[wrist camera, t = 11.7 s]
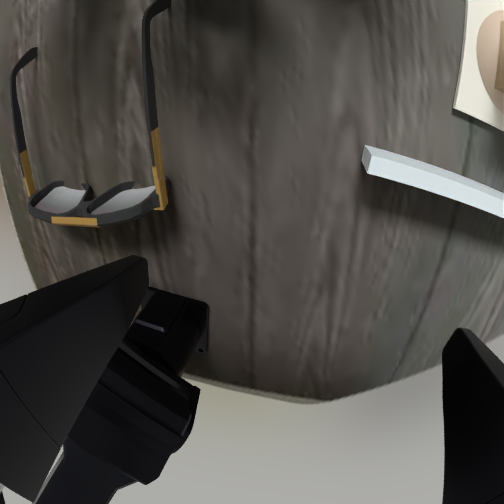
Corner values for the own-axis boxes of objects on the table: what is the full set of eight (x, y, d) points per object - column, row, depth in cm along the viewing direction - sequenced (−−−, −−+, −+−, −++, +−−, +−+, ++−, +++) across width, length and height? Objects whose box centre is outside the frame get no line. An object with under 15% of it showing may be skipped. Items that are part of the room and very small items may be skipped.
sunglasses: (173, -4, 14) (132, -21, 10) (187, 203, 22) (154, 234, 18) (38, 47, 17) (-5, 52, 13) (59, 201, 25) (22, 225, 21)
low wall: (527, 218, 15) (546, 237, 13) (361, 160, 17) (367, 173, 15) (531, 206, 15) (552, 224, 12) (364, 144, 17) (371, 155, 14)
